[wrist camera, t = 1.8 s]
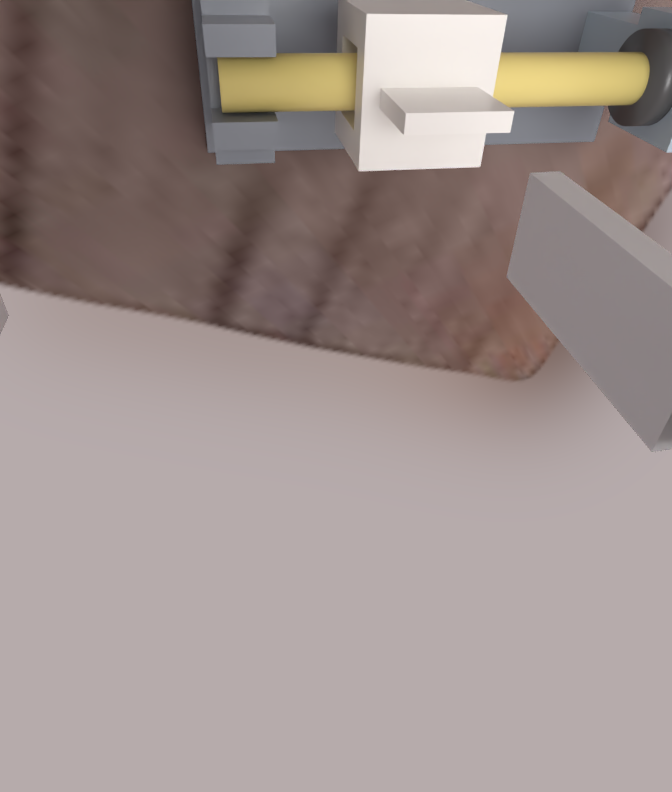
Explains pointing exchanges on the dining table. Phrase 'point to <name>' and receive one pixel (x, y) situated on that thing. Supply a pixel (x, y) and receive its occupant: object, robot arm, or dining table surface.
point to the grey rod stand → (515, 83)
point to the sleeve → (421, 82)
